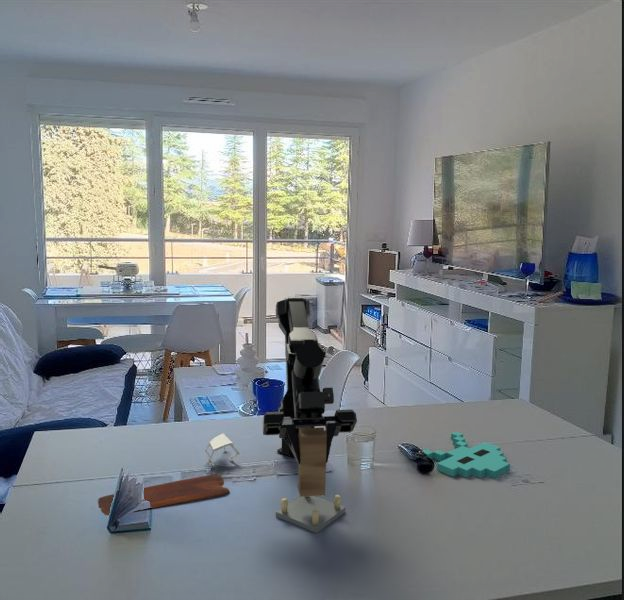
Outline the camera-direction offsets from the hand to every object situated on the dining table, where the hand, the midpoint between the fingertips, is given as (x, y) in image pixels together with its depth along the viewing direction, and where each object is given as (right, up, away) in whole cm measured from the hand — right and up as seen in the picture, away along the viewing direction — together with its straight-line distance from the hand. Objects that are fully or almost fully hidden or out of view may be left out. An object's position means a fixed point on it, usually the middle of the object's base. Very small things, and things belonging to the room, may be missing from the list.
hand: (312, 463), depth 118 cm
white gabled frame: (-22, -7, +28) cm, 36 cm away
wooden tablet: (-31, -10, +10) cm, 35 cm away
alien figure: (+38, -8, +30) cm, 49 cm away
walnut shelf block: (0, -6, +2) cm, 7 cm away
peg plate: (0, -11, +3) cm, 12 cm away
